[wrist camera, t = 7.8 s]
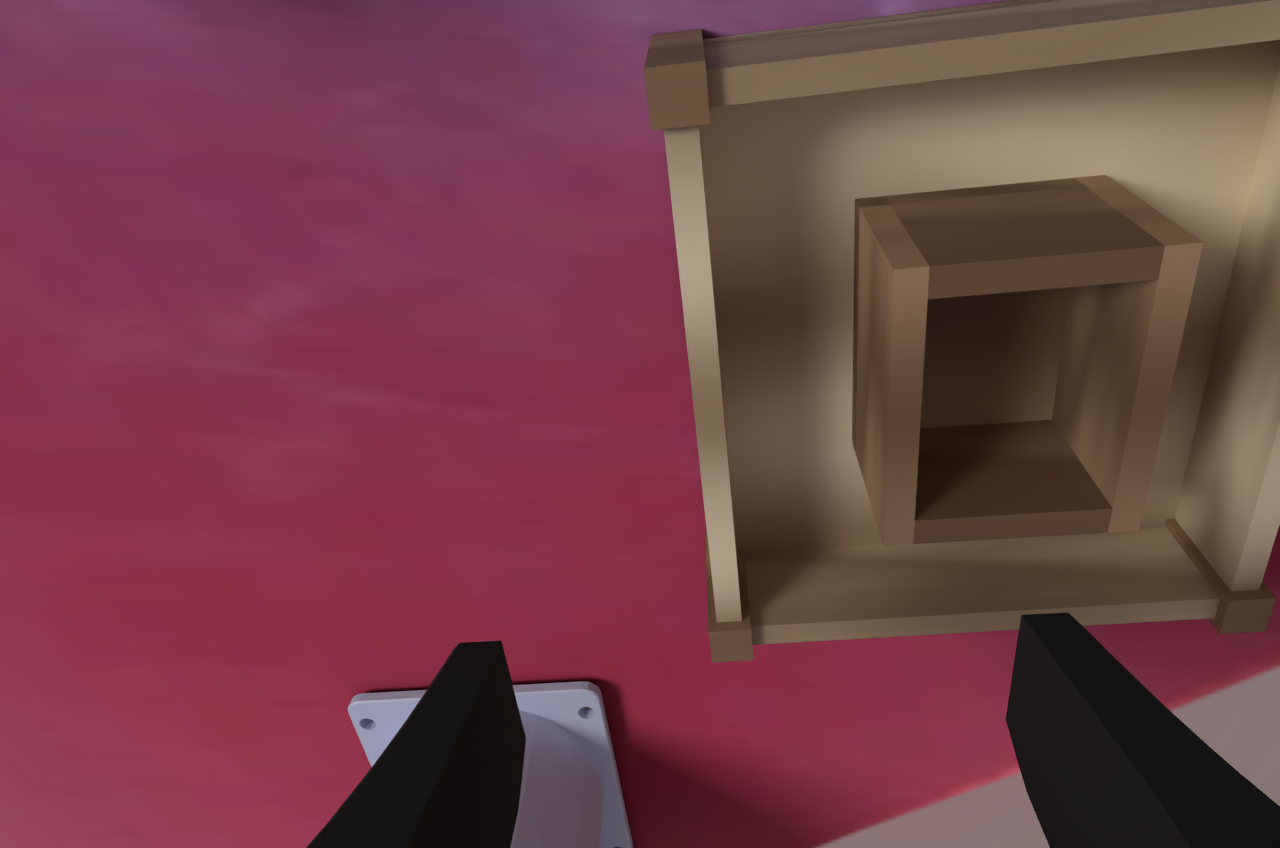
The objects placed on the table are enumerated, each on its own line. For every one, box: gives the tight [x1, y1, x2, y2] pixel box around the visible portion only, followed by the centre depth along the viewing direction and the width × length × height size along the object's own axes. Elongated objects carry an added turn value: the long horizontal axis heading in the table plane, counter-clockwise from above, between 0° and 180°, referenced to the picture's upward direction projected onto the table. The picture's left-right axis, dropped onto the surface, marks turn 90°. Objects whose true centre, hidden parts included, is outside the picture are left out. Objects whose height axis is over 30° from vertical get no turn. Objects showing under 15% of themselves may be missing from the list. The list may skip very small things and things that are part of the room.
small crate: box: [852, 175, 1203, 546], centre depth 18 cm, size 6×5×4 cm
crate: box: [644, 0, 1280, 662], centre depth 19 cm, size 14×13×4 cm
